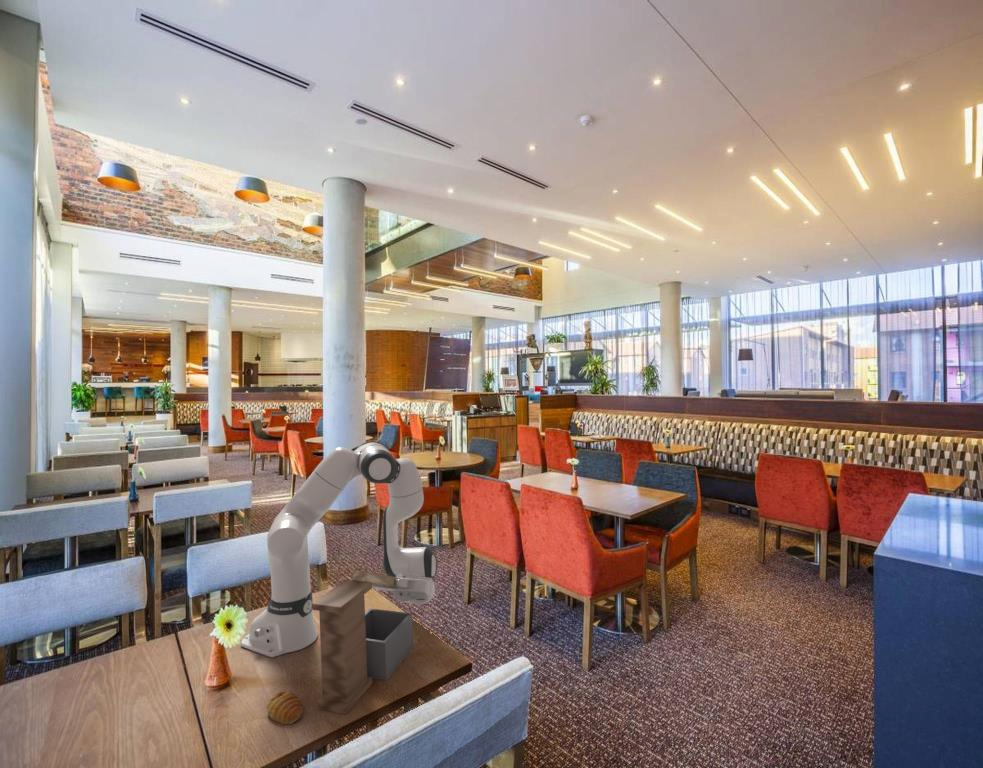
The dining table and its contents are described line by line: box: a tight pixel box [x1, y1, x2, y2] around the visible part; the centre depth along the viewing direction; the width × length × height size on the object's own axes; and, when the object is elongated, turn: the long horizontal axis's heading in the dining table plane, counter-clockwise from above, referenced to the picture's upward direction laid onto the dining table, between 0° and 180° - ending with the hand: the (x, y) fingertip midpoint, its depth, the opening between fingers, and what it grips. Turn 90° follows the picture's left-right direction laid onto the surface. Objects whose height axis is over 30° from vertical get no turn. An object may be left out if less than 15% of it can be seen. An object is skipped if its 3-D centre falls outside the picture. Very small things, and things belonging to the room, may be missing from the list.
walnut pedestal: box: [312, 579, 373, 715], centre depth 122 cm, size 8×14×26 cm, turn 163°
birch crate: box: [351, 569, 399, 589], centre depth 137 cm, size 4×19×3 cm, turn 163°
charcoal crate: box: [365, 608, 414, 681], centre depth 136 cm, size 14×16×10 cm
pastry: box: [266, 690, 304, 725], centre depth 115 cm, size 9×7×4 cm
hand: (387, 581), depth 142 cm, fingers closed on birch crate, 4 cm apart
